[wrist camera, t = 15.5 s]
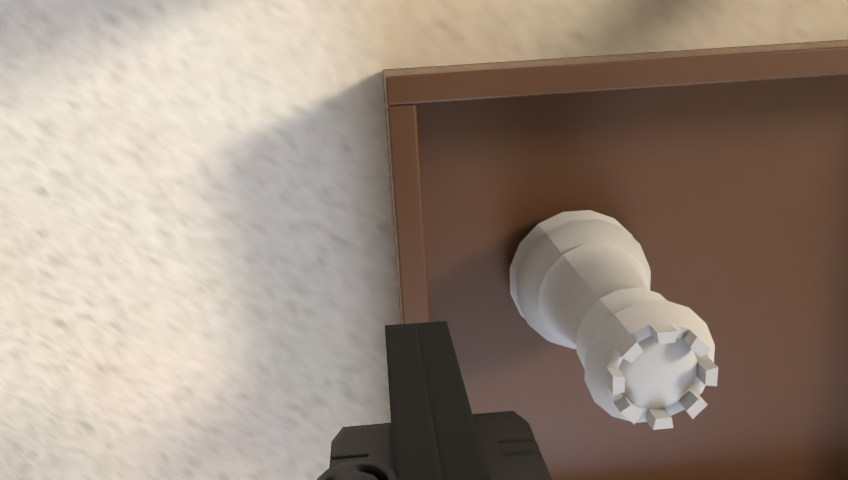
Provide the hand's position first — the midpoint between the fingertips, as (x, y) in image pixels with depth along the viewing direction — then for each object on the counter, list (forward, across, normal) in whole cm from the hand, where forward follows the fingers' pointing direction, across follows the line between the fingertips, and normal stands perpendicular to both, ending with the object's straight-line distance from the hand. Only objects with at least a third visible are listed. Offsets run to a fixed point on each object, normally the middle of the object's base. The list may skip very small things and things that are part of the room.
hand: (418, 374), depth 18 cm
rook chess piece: (+7, +6, 0) cm, 9 cm away
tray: (+7, +10, -2) cm, 12 cm away
